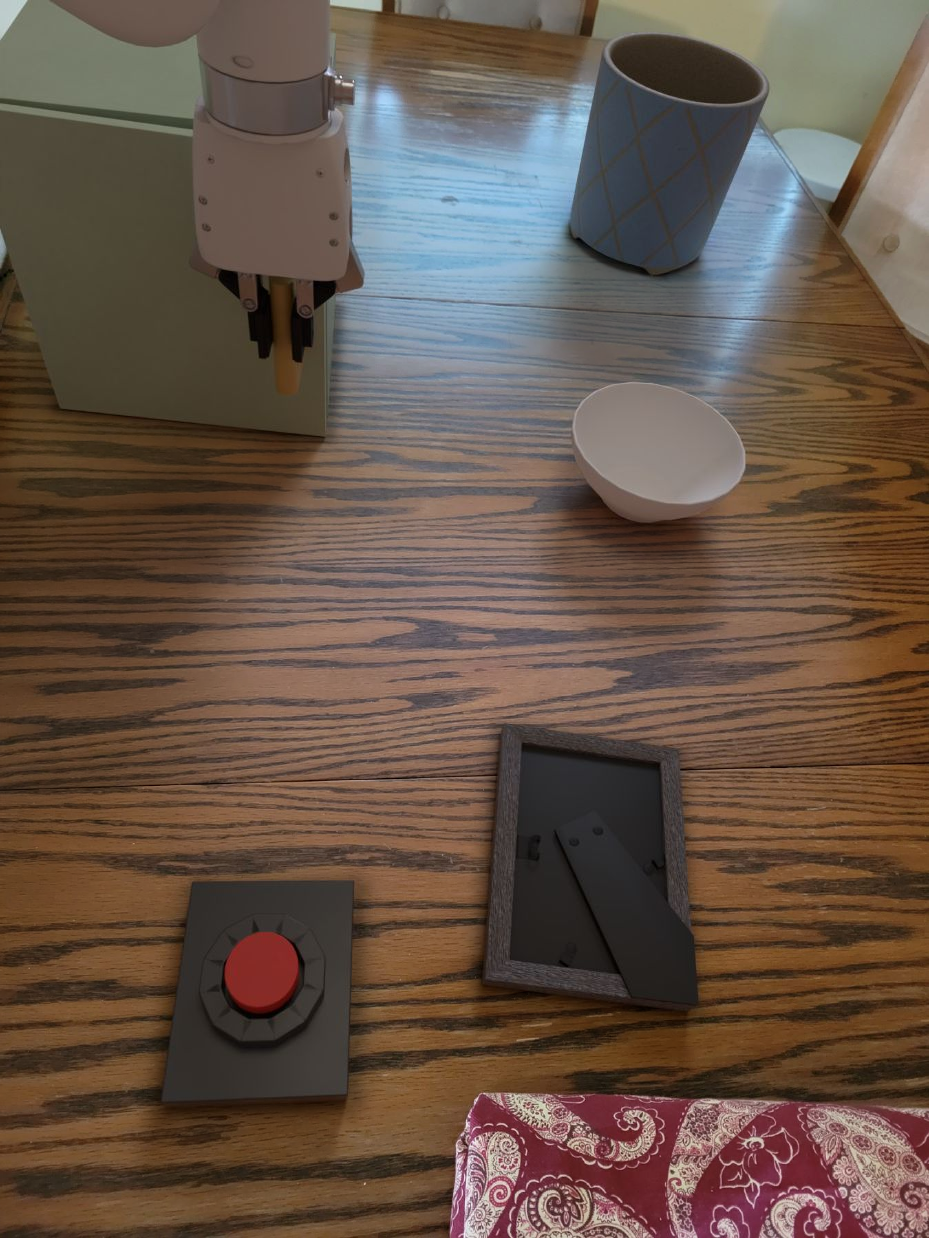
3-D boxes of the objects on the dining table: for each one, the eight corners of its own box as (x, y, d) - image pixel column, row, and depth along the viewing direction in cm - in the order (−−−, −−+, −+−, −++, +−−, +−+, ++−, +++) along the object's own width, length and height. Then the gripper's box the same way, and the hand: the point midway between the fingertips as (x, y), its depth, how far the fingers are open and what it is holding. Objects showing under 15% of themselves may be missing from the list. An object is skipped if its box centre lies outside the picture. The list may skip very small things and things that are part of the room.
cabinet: (327, 418, 81) (325, 133, 60) (63, 401, 78) (-37, 93, 57) (335, 309, 92) (336, 33, 70) (103, 289, 88) (30, -5, 67)
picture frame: (687, 1011, 53) (671, 757, 64) (698, 1004, 51) (680, 745, 62) (481, 984, 52) (500, 733, 63) (486, 977, 51) (504, 720, 61)
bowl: (743, 551, 78) (775, 498, 72) (581, 564, 74) (601, 510, 69) (684, 434, 87) (708, 379, 81) (537, 440, 83) (552, 383, 77)
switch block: (347, 1100, 48) (348, 1091, 45) (166, 1107, 46) (154, 1098, 43) (353, 890, 55) (354, 869, 52) (196, 892, 53) (187, 870, 50)
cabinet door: (318, 481, 76) (312, 197, 55) (39, 452, 74) (-77, 145, 53) (326, 430, 80) (324, 147, 59) (63, 401, 78) (-37, 97, 57)
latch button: (296, 1013, 47) (295, 1006, 45) (223, 1014, 46) (220, 1008, 45) (301, 939, 49) (300, 930, 48) (231, 940, 49) (228, 931, 47)
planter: (728, 239, 112) (794, 74, 96) (667, 298, 101) (730, 124, 85) (605, 184, 116) (649, 18, 100) (536, 235, 106) (572, 59, 90)
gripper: (403, 81, 53) (388, 332, 67) (144, 45, 51) (187, 310, 66) (396, 137, 48) (382, 392, 63) (114, 99, 47) (167, 370, 62)
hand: (283, 348), depth 64 cm, fingers closed on cabinet door, 2 cm apart
